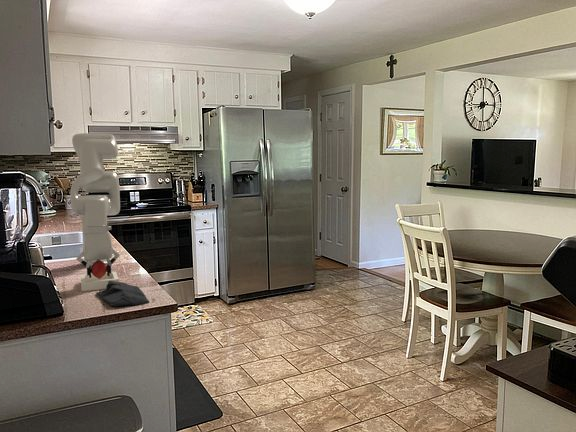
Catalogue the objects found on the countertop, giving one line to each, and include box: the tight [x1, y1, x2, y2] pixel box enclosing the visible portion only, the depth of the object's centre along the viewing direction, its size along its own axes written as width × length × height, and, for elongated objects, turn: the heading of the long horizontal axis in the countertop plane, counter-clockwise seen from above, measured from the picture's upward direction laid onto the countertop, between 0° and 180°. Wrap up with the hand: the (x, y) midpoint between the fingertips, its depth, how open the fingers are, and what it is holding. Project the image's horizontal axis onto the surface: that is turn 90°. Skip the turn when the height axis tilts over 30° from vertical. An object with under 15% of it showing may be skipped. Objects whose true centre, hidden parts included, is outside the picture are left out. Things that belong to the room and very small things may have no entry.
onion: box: [91, 260, 107, 279], centre depth 178 cm, size 6×6×8 cm
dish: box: [80, 270, 120, 292], centre depth 179 cm, size 13×13×3 cm
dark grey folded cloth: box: [95, 281, 150, 307], centre depth 162 cm, size 15×22×5 cm
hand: (99, 275), depth 178 cm, fingers closed on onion, 5 cm apart
